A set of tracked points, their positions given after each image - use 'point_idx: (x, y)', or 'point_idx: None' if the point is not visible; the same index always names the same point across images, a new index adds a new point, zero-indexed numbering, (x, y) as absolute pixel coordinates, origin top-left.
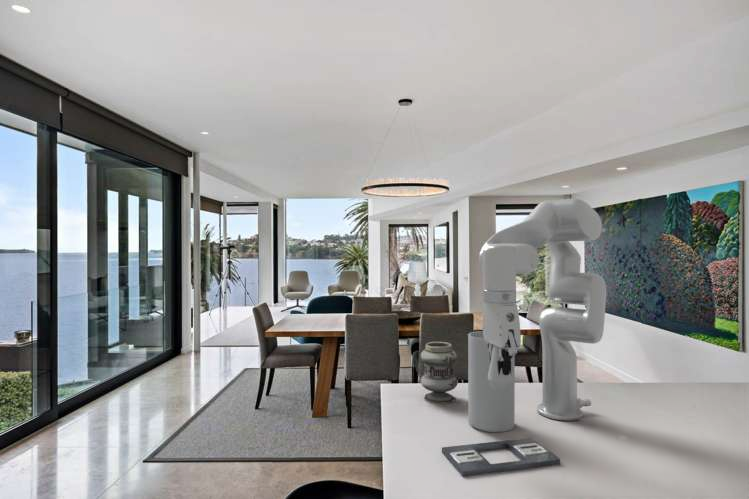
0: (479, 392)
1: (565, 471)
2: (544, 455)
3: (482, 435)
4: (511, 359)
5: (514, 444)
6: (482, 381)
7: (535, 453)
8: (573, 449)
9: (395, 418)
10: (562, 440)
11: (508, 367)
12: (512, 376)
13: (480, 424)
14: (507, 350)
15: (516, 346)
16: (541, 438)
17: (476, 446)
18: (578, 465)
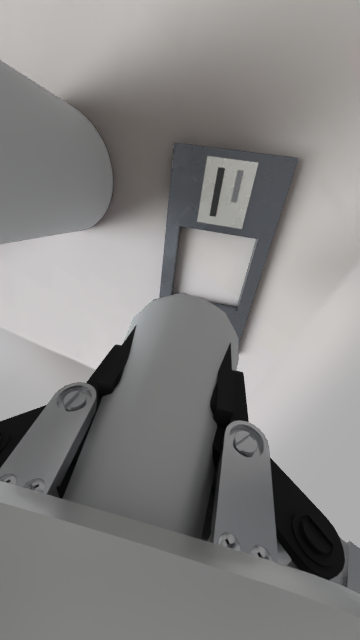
0: (32, 235)
1: (322, 175)
2: (264, 184)
3: (115, 233)
4: (263, 442)
5: (190, 213)
6: (7, 234)
7: (248, 201)
8: (257, 34)
9: (27, 330)
10: (198, 17)
11: (244, 403)
12: (226, 328)
13: (89, 225)
14: (215, 513)
15: (316, 579)
16: (166, 88)
17: (171, 291)
18: (326, 111)
